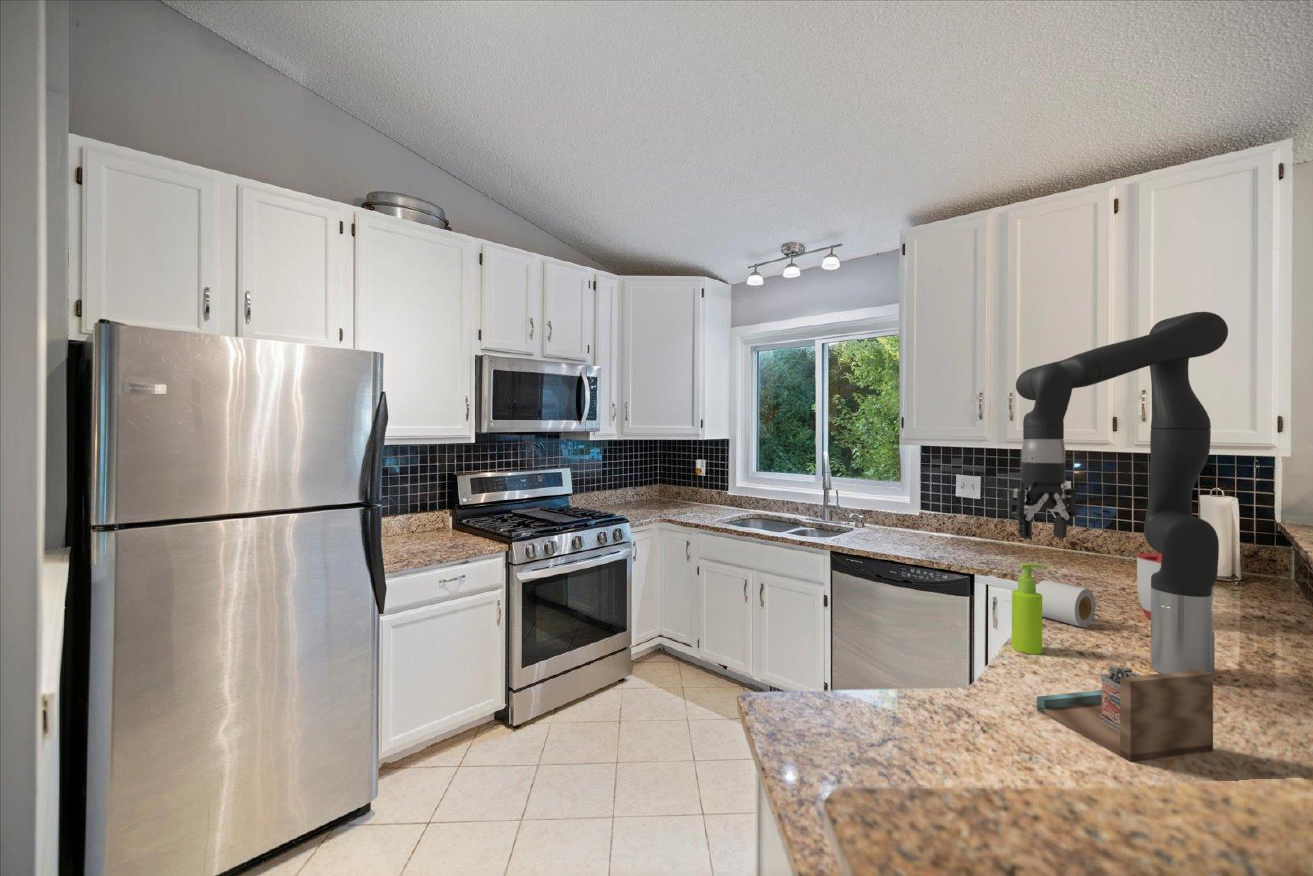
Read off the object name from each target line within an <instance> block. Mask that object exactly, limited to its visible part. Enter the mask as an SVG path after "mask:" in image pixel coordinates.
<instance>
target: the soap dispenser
mask: <svg viewBox="0 0 1313 876" xmlns="http://www.w3.org/2000/svg"><path fill="white" fill-rule="evenodd" d="M1018 566H1019V567H1021V568H1022V575H1020V576H1018V578H1017V586H1018V587H1017V589H1015V590H1012V591H1011V649H1013V650H1014V651H1016V650H1019V651H1022V652H1025V653H1024V654H1026V653H1029V654H1028V655H1035V654H1036V655H1041V654H1043V617H1042V595H1041V594H1039V593H1036V587H1037V584H1036V583H1037V582H1036V581H1037V580H1036V578H1034V577H1033V576H1032V568H1037V569H1044V570H1047V569H1048V568H1049V567H1048V566H1046V565H1042V564H1039V563H1033V562H1019V563H1018ZM1019 651H1018V652H1019ZM1022 652H1021V653H1022Z"/></svg>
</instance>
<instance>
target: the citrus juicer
mask: <svg viewBox="0 0 1313 876" xmlns="http://www.w3.org/2000/svg"><path fill="white" fill-rule="evenodd" d="M1135 557H1136V587H1137V588H1136V589H1137V596H1138V601H1139V602H1140V606H1141V610H1142V612H1143V614H1144V615H1145V617H1147V618H1149V619H1151V576H1152V574H1154V573H1156V572H1158V571H1159V570H1160V568H1161V559H1162V553H1151V552H1150V553H1149V552H1142V553H1137V554H1135ZM1213 599H1214V586H1213V587H1212V603H1213V601H1214V600H1213Z"/></svg>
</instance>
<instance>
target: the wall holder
mask: <svg viewBox="0 0 1313 876" xmlns="http://www.w3.org/2000/svg"><path fill="white" fill-rule="evenodd" d="M1141 675H1142V676H1132V677H1121V678H1120V732H1119V731H1117V730H1115V729H1114V728H1112V727H1110V726H1108V725H1107V724H1105V723H1104V722H1102V721H1101V720H1100V714H1101V713H1102V689H1100V690H1090V691H1081V692H1080V691H1079V692H1069V693H1057V694H1048V695H1041V696H1039V695H1038V696H1037V695H1036V710H1037V712H1039V713H1041V714H1043V715H1045V716H1046V717H1049V718H1050V719H1051V720H1053V721H1055V722H1057V723H1059V724H1061V725H1063V726H1064V727H1065V728H1068V729H1070V730H1072V731H1074V732H1076V733H1078V734H1079V735H1081V736H1082V737H1085V738H1086V739H1088V740H1090V741H1092V742H1094V743H1096V744H1097V745H1099V746H1101V747H1103V748H1105V749H1106V750H1108V751H1109V752H1111V753H1114V754H1115V755H1117V756H1119V757H1121V758H1123V759H1125V760H1126V761H1129V762H1130V763H1131V762H1138V761H1145V760H1146V761H1147V760H1154V759H1160V758H1168V757H1169V758H1170V757H1175V756H1176V757H1178V756H1184V755H1191V754H1192V755H1193V754H1197V753H1200V754H1201V753H1206V752H1213V751H1214V677H1213V674H1212V673H1209V672H1207V671H1204V670H1195V671H1185V672H1174V673H1163V674H1161V673H1155V674H1144V675H1143V674H1141Z"/></svg>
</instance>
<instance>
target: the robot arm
mask: <svg viewBox="0 0 1313 876" xmlns="http://www.w3.org/2000/svg"><path fill="white" fill-rule="evenodd" d="M1228 335H1229V327H1228V324H1227V322H1226V321H1225V319H1224V318H1223V317H1221V316H1220V315H1218V314H1216V313H1215V312H1214V313H1213V312H1209V311H1193V312H1189V313H1184V314H1181V315H1176V316H1173V317H1169V318H1165V319H1162V320H1160V321H1158V322H1156V323H1155V324H1154V325H1153V326H1152V327H1151V329H1150V331H1149V334H1146V335H1141V336H1138V337H1136V338H1135V337H1134V338H1131V339H1127V340H1123V341H1118V342H1114V343H1111V344H1108V345H1107V344H1106V345H1103V346H1099V347H1096V348H1093V349H1090V350H1086V351H1084V352H1082V353H1078V354H1075V355H1072V356H1070V357H1068V358H1065V359H1062V360H1059V361H1054V362H1050V363H1046V364H1042V365H1039V366H1035V367H1032V368H1029V369H1026V370H1025V371H1023V372H1022V373H1020V375H1019V376H1018V378H1017V379H1016V380H1015V381H1016V382H1015V390H1016V392H1017V393H1018V394H1019V396H1021V397H1022V398H1024V399H1026V400H1028V401H1034V406H1033V409H1032V410H1031V411H1029V412H1027V413H1026V414H1025V415H1024V417H1023V422H1022V424H1023V426H1022V428H1023V429H1022V434H1023V435H1022V436H1023V437H1022V438H1023V440H1022V445H1021V446H1022V447H1021V482H1023V483H1024V487H1023V488H1017V487H1012V488H1011V489H1010V492H1009V493H1010V498H1009V511H1008V512H1009V516H1010V517H1013V518H1016V519H1017V520H1018V535H1019V537H1020V538H1021V539H1024V540H1025V539H1026V540H1029V539H1032V537H1033V535H1032V534H1033V533H1032V532H1033V531H1032V528H1033V527H1032V523H1033V521H1032V519H1033V517H1034V515H1035V514H1037V513H1038V512H1039V511H1040V510H1048V511H1049V512H1050V513H1051V514H1052V515H1053V517H1054V519H1053V537H1055V538H1060V539H1065V538H1066V537H1067V533H1068V532H1067V531H1068V526H1067V525H1068V521H1069V520H1070V518H1075V517H1076V516H1077V500H1076V499H1077V498H1076V489H1074V488H1069V487H1062V485H1064V484H1065V483H1066V447H1065V436H1064V435H1065V432H1064V431H1065V427H1064V426H1065V423H1064V420H1065V416H1066V414H1067V411H1068V408H1069V405H1070V401H1071V397H1072V393H1073V389H1078V388H1085V387H1089V386H1093V385H1096V384H1099V383H1102V382H1106V381H1109V380H1111V379H1114V378H1116V377H1117V378H1118V377H1120V376H1122V375H1123V376H1124V375H1125V374H1129V373H1132V372H1134V371H1137V370H1140V369H1143V368H1146V367H1149V372H1150V382H1151V418H1150V419H1151V421H1150V445H1149V446H1150V447H1149V449H1150V450H1149V451H1150V461H1149V462H1150V463H1149V493H1148V494H1149V495H1148V500H1147V507H1146V512H1145V519H1144V525H1143V526H1144V527H1143V535H1144V538H1145V541H1146V542H1147V545H1148V546H1150V548H1152V549H1153V550H1154V551H1156V552H1158V553H1159V554H1162V559H1161V568H1160V570H1159V571H1158V572H1156V573H1154V574H1152V576H1151V618H1150V668H1151V669H1152V670H1154V671H1155V672H1157V673H1158V674H1163V673H1174V672H1185V671H1195V670H1204V671H1207V672H1209V673H1212V674H1213V678H1215V631H1214V630H1213V629H1212V628H1213V626H1212V625H1213V623H1212V622H1213V617H1212V616H1213V611H1212V609H1213V607H1212V606H1213V602H1212V587H1213V588H1214V586H1215V584H1216V583H1217V579H1218V571H1219V557H1220V556H1219V554H1220V552H1219V551H1220V546H1219V545H1220V543H1219V537H1218V534H1217V532H1216V530H1215V527H1214V526H1213V525H1212V524H1210V523H1209V522H1208V521H1206V520H1204V519H1202V518H1199V517H1196V516H1193V503H1192V502H1193V501H1192V499H1193V492H1194V491H1193V490H1194V488H1195V485H1196V482H1197V480H1198V478H1199V476H1200V475H1201V473H1202V471H1203V469H1204V468H1205V465H1206V463H1207V461H1208V459H1209V455H1210V450H1211V438H1212V437H1211V436H1212V434H1211V432H1212V431H1211V429H1212V425H1211V420H1210V416H1209V414H1208V412H1207V410H1206V408H1205V407H1204V406H1203V403H1201V401H1200V400H1199V398H1198V397H1197V395H1196V393H1195V391H1194V390H1193V389H1192V387H1191V383H1190V379H1189V376H1190V375H1189V361H1190V359H1191V358H1199V357H1203V356H1206V355H1210V354H1212V353H1214V352H1216V351H1217V350H1219V349H1220V348H1221V347H1222V346H1223V345H1224V344H1225V343H1226V341H1227V339H1228ZM1068 507H1069V509H1068Z"/></svg>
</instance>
